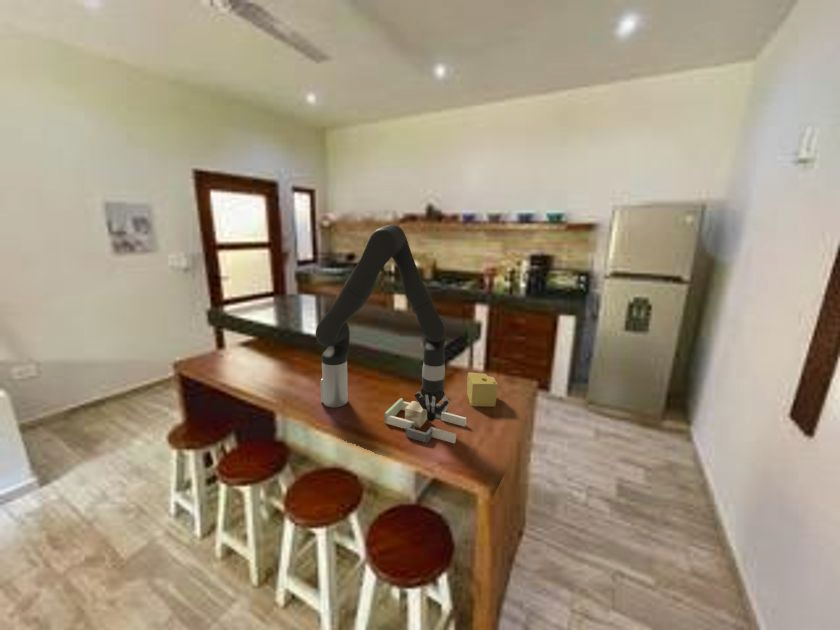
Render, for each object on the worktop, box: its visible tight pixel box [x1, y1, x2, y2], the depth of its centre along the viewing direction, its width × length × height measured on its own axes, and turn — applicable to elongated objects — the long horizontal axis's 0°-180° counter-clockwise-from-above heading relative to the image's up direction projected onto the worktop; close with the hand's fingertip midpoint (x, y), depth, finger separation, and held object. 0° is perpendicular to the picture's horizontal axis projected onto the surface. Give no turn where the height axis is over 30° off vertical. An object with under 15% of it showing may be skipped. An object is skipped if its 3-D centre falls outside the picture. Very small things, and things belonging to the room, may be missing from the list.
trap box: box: [384, 397, 467, 444], centre depth 129 cm, size 26×20×4 cm
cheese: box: [466, 372, 499, 408], centre depth 146 cm, size 10×11×10 cm
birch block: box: [404, 400, 428, 429], centre depth 130 cm, size 6×6×6 cm
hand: (431, 420), depth 128 cm, fingers closed
